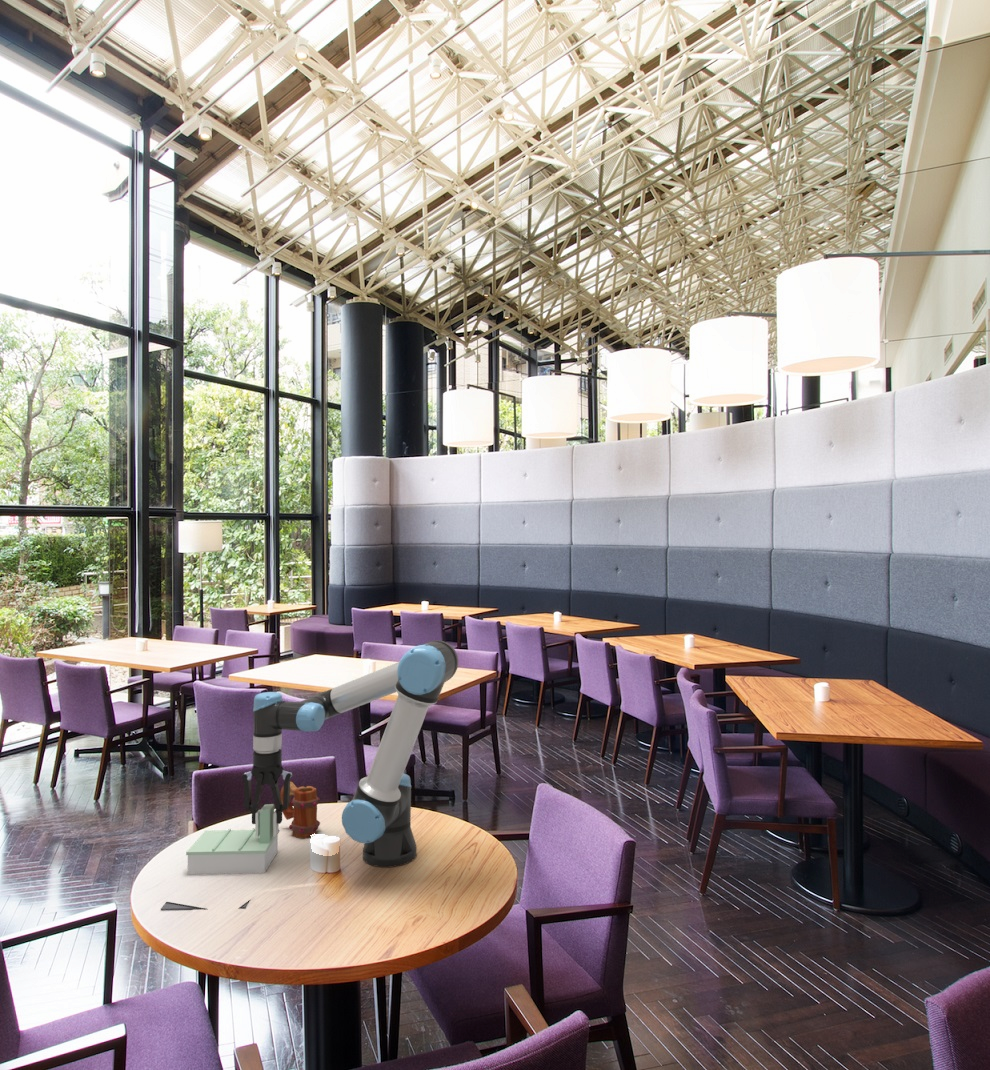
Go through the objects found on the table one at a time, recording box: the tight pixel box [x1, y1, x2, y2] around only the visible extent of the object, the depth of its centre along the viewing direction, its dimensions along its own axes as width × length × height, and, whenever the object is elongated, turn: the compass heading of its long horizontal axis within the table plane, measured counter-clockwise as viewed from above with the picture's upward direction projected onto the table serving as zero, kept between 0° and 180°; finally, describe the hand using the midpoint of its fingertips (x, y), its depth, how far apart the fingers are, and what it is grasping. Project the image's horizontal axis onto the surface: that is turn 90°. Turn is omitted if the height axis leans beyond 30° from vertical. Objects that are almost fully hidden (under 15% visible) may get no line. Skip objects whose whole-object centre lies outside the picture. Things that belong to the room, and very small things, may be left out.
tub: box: [187, 834, 279, 876], centre depth 201 cm, size 20×14×6 cm
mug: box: [280, 781, 321, 839], centre depth 222 cm, size 15×8×15 cm, turn 58°
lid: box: [185, 803, 276, 856], centre depth 201 cm, size 21×15×10 cm
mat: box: [160, 899, 251, 911], centre depth 184 cm, size 20×15×1 cm
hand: (267, 835), depth 201 cm, fingers open, 4 cm apart
